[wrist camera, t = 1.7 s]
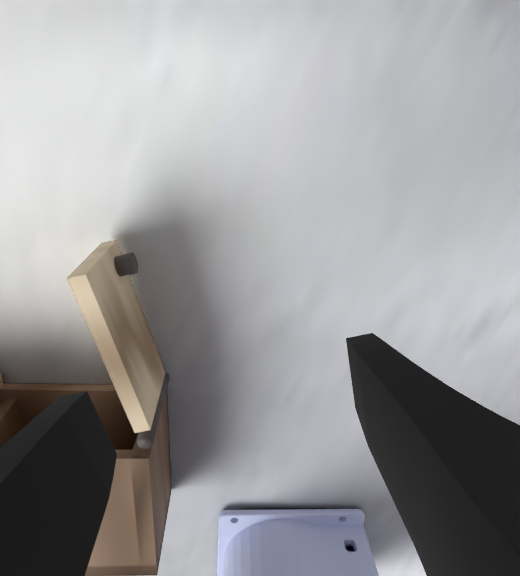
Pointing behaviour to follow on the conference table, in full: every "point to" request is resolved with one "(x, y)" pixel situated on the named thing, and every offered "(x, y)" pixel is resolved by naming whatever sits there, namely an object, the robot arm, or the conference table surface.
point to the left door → (122, 335)
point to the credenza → (126, 481)
